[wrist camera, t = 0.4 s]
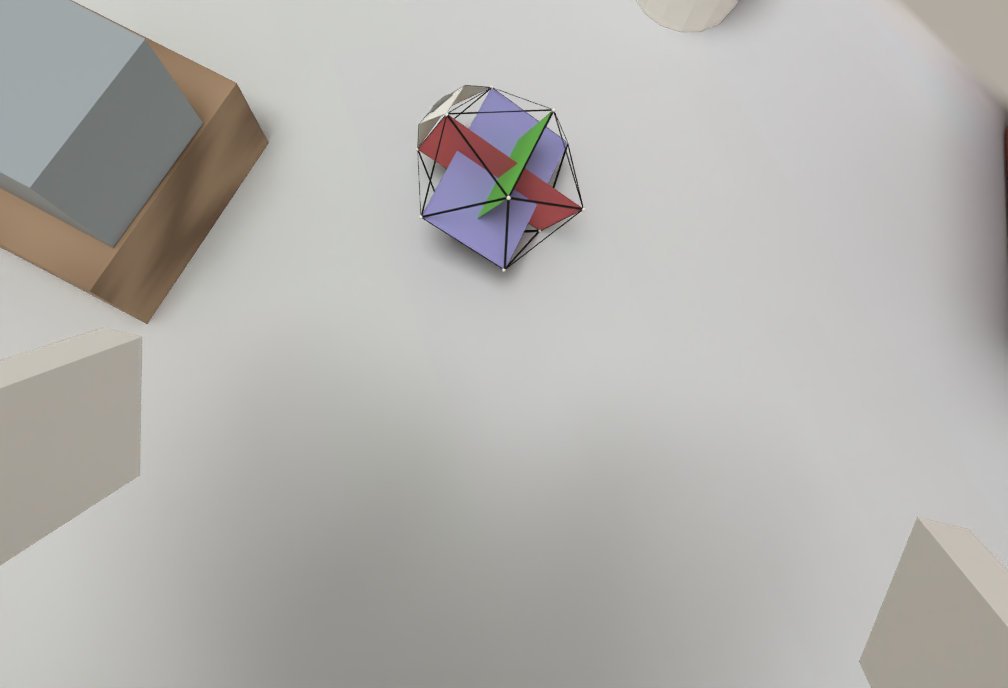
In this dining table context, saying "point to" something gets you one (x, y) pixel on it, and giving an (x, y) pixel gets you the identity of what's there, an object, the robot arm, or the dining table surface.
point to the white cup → (687, 13)
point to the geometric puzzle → (493, 174)
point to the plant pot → (1007, 148)
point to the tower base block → (151, 203)
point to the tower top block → (85, 116)
